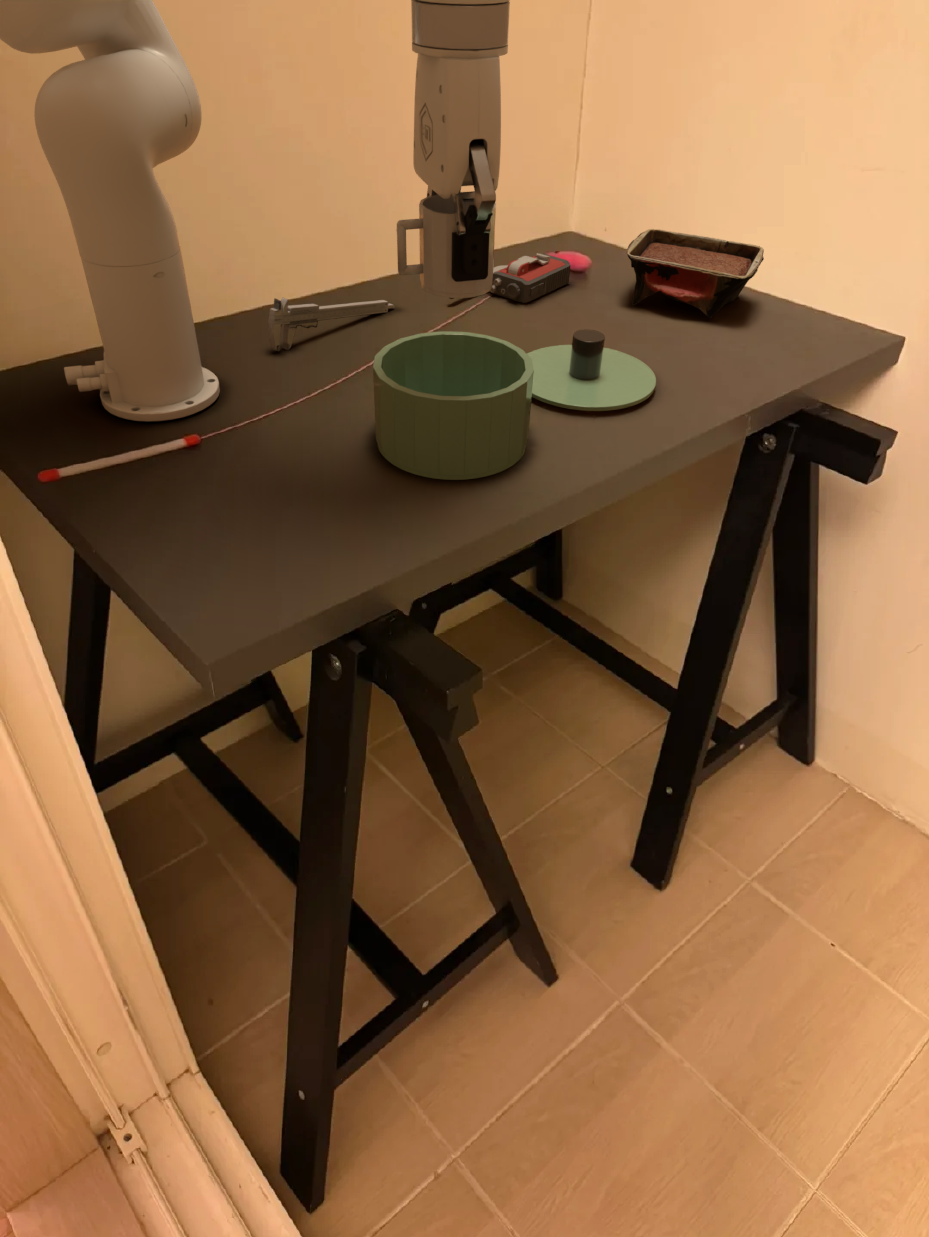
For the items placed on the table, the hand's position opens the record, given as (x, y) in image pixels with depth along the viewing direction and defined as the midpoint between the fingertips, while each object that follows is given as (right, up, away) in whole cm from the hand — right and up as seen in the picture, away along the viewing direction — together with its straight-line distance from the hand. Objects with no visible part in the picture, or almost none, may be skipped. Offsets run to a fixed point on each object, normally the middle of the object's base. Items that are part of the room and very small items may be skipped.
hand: (456, 263), depth 79 cm
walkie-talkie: (+7, +14, +45) cm, 47 cm away
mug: (-1, -2, +1) cm, 2 cm away
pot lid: (+15, -4, +23) cm, 27 cm away
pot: (-1, -14, +12) cm, 18 cm away
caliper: (-16, +5, +33) cm, 37 cm away
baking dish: (+32, +12, +44) cm, 56 cm away
